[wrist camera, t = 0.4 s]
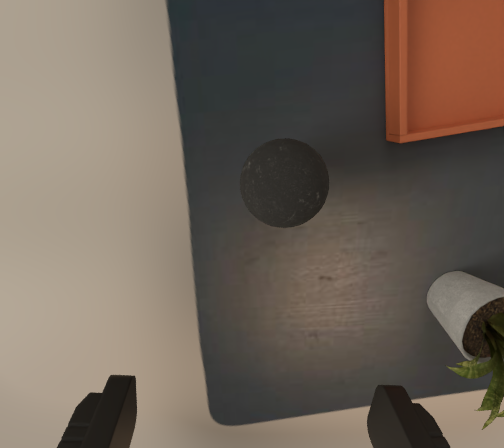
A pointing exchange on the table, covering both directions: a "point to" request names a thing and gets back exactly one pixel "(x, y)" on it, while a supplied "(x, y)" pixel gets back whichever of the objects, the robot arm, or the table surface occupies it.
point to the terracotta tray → (443, 67)
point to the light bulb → (284, 183)
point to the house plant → (473, 329)
